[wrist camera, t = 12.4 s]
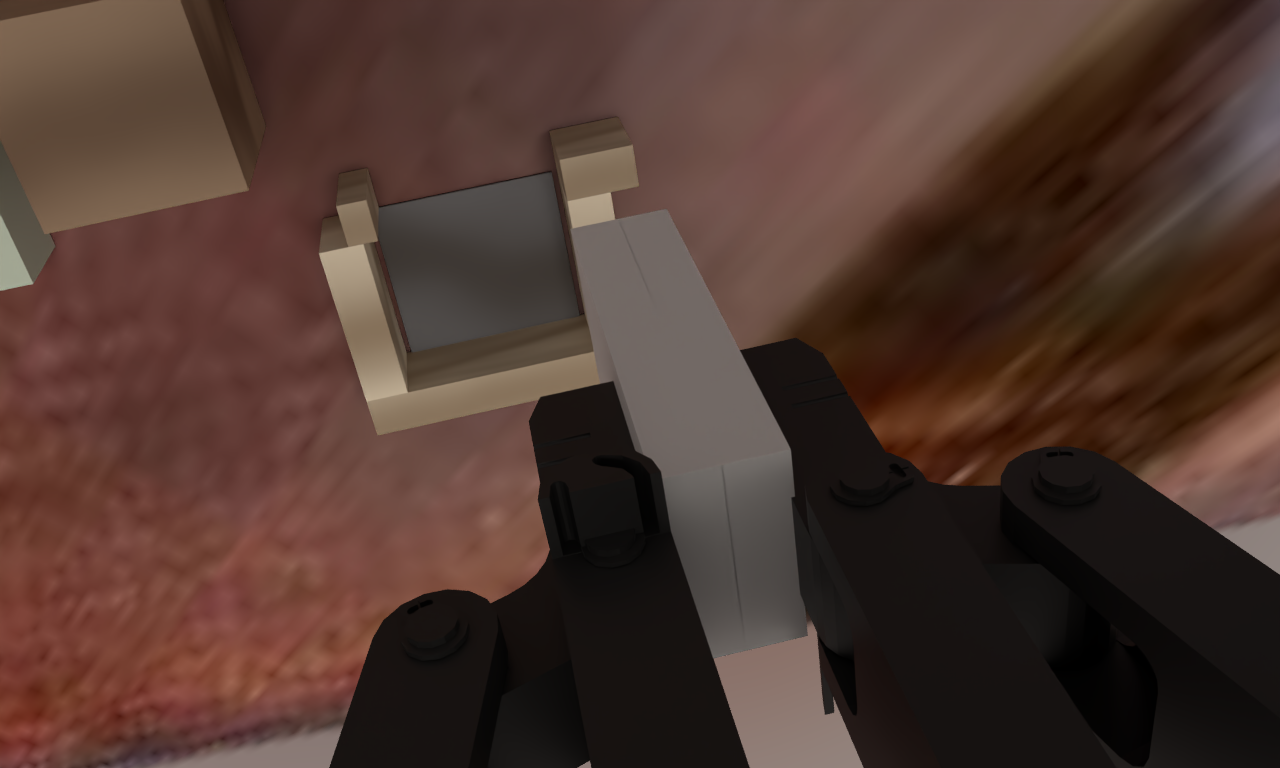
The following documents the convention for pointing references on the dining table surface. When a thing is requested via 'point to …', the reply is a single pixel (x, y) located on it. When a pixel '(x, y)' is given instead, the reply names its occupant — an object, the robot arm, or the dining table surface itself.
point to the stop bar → (19, 232)
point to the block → (124, 106)
